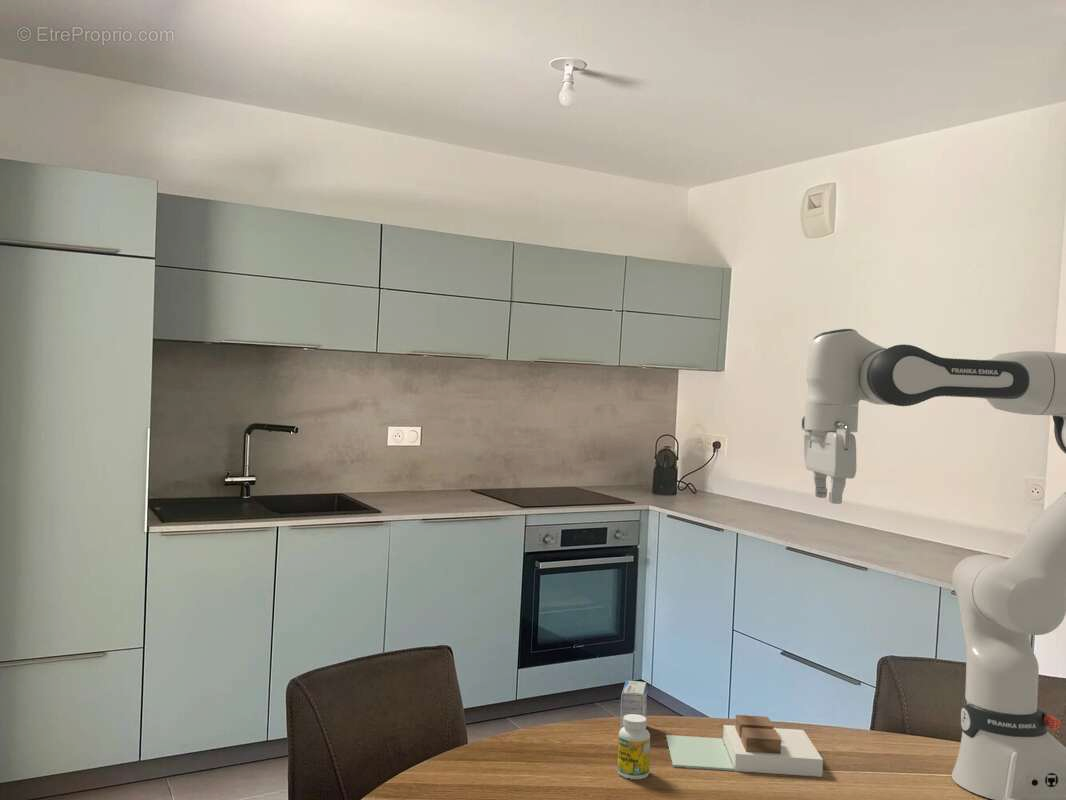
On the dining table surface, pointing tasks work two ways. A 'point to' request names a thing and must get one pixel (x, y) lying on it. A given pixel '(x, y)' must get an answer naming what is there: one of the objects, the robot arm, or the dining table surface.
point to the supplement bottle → (634, 747)
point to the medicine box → (633, 699)
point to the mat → (699, 753)
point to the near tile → (761, 740)
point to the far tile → (752, 723)
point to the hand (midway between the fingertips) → (827, 500)
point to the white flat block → (792, 760)
